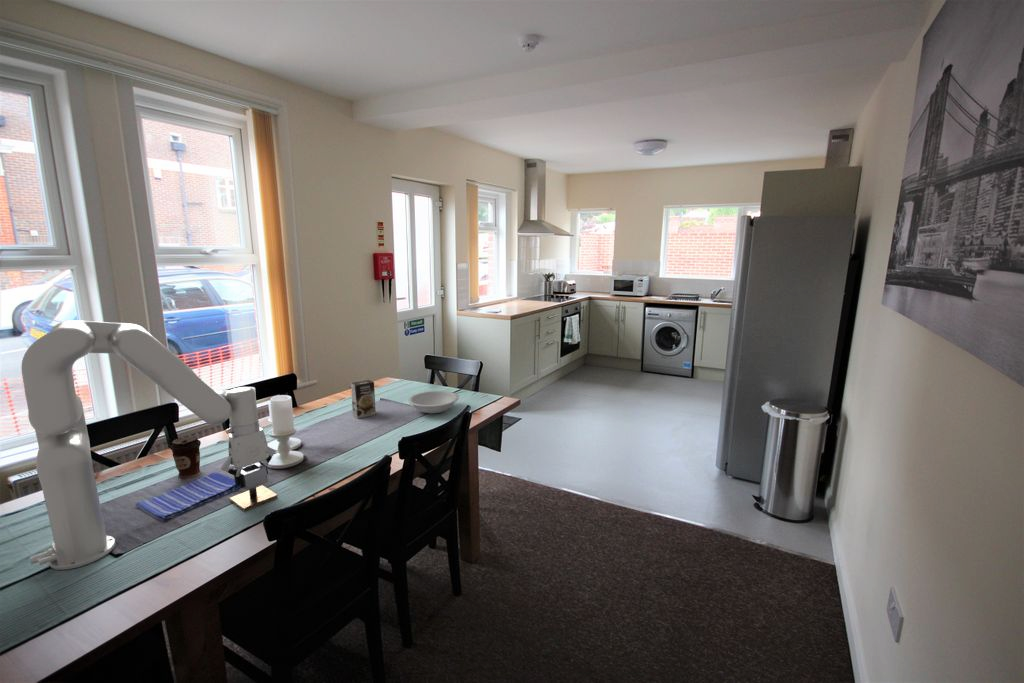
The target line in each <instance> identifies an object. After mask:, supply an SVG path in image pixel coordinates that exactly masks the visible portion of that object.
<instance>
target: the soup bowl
mask: <svg viewBox="0 0 1024 683" xmlns="http://www.w3.org/2000/svg"><path fill="white" fill-rule="evenodd" d="M459 399H460V398H459V394H457V393H455V392H453V391H448V390H447V391H446V390H427V391H422V392H418V393H414V394H412V395H411V396H409V397H408V398H407V401H408V403H409V404H411V405H412V406H413V407H414V408H415V410H417V411H419V412H422V413H425V414H438V413H443V412H446V411H448V410H450V408H451V407H453V405H454V404H455V403H456V402H457V401H458V400H459Z"/></svg>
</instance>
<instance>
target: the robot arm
mask: <svg viewBox="0 0 1024 683" xmlns="http://www.w3.org/2000/svg"><path fill="white" fill-rule="evenodd" d="M88 354H116V355H117V356H119V357H120V358H121V359H122V360H123V361H125V362H126V363H127V364H129V365H130V366H131V367H133V369H136V370H137V371H138V372H139V373H141V374H142V375H144V376H145V377H146V378H147V379H148V380H149V381H150V382H152V383H153V384H155V385H156V386H157V387H158V388H160V389H161V390H162V391H164V392H165V393H166V394H167V395H169V396H171V397H172V398H173V399H175V400H176V401H177V402H179V403H180V404H181V405H182V406H184V407H185V408H186V409H187V410H189V411H190V412H192V413H193V414H194V415H195V416H197V418H199V419H201V420H202V421H203V422H204V423H206V424H209V425H220V424H223V423H224V422H226V421H228V419H229V428H227V429H225V433H226V434H229V436H228V448H227V449H228V458H227V459H226V460H225V462H223V464H222V465H221V467H220V469H221V470H222V471H224V472H226V473H228V474H230V475H232V476H234V478H233V479H235V484H236V485H237V486H239V487H240V488H239V489H244V488H243V487H244V485H243V479H242V476H241V470H242V468H244V467H247V466H250V465H252V464H255V463H260V464H262V465H263V466H265V467H266V470H267V475H268V474H269V471H268V466H269V463H270V462H271V460H272V458H273V456H274V455H275V454H276V452H277V450H275V449H274V448H272V447H270V446H269V445H268V441H267V438H266V435H265V431H264V428H262V427H260V423H259V413H258V406H257V397H256V392H255V389H254V388H252V387H251V386H250V387H249V386H239V387H236V388H232V389H228V390H225V389H224V390H214V389H213V388H212V387H210V386H209V385H208V384H207V383H206V382H205V381H203V380H202V379H201V378H200V376H198V375H197V374H196V373H195V372H194V370H193V369H192V368H191V367H190V366H189V365H188V364H187V363H186V362H185V361H184V360H182V359H181V358H180V357H178V356H177V355H176V354H174V352H172V351H171V350H170V349H169V348H168V347H166V346H165V345H164V344H162V342H160V340H158V339H157V338H155V336H153V335H152V334H151V333H150V332H148V330H147V329H146V328H144V326H141V325H138V324H136V323H127V322H108V321H107V322H106V321H91V320H81V319H80V320H78V319H76V320H74V319H73V320H71V319H70V320H64V321H62V322H59V323H57V324H56V325H54V326H53V327H52V328H51V330H50V331H49V332H47V333H46V334H44V335H42V336H41V337H40V338H38V339H36V340H35V341H34V342H33V343H31V345H30V346H29V347H28V348H27V349H26V351H25V353H24V355H23V357H22V360H21V377H22V381H23V383H22V384H23V387H24V394H25V395H24V396H25V399H26V404H27V410H28V414H27V416H28V417H27V418H28V421H29V423H30V425H31V427H32V428H33V429H34V432H35V436H36V441H37V445H38V450H37V455H36V458H35V460H36V462H35V466H36V473H37V477H38V480H39V484H40V486H41V490H42V494H43V498H44V503H45V506H46V511H47V515H48V519H49V520H48V521H49V524H50V530H51V533H52V539H53V543H51V547H50V548H49V549H46V551H44V552H41V553H37V554H35V555H32V556H29V562H30V565H34V564H37V563H39V566H42V565H45V564H47V563H49V567H50V568H51V569H53V570H56V571H57V570H58V571H59V570H60V571H63V570H64V571H65V570H72V569H77V568H81V567H83V566H86V565H89V564H92V563H94V562H95V561H98V560H100V559H101V558H104V557H105V556H106V555H108V554H110V553H111V551H113V549H115V547H116V545H117V544H116V542H117V541H116V539H115V538H114V536H111V535H106V534H107V533H106V532H107V531H106V527H105V522H104V518H103V513H102V512H103V511H102V508H101V502H100V496H99V492H98V488H97V487H98V486H97V482H96V476H95V472H94V467H93V458H92V454H91V453H92V452H91V444H90V437H89V432H88V427H87V422H86V417H85V412H84V406H83V402H82V399H81V397H80V396H79V395H78V394H77V393H76V387H75V381H74V375H73V366H74V365H75V363H76V361H78V360H79V359H81V358H83V357H85V356H87V355H88ZM231 465H232V466H233V467H232V468H230V466H231Z"/></svg>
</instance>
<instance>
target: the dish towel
mask: <svg viewBox="0 0 1024 683" xmlns="http://www.w3.org/2000/svg"><path fill="white" fill-rule="evenodd" d="M239 489H241V488H240V487H239V486H237V485H236V484H235V478H231V477H229V476H226V475H225V474H223V473H219V472H217V471H216V472H215V471H213V472H211V473H209V474H207V475H204V476H203V477H201V478H197V479H196V480H194V481H191V482H189V483H186V484H184V485H181V486H177V487H176V488H173V489H171V490H168V491H166V492H163V493H161V494H159V495H156V496H153V497H151V498H148V499H145V500H142V501H140V502H137V503H135V506H136V507H137V508H138V509H140V510H142V511H143V512H145V513H147V515H150V516H152V517H154V518H155V519H157V520H160V521H163V522H164V521H165V520H169V519H172V518H174V517H176V516H179V515H182V514H184V513H185V512H188V511H190V510H193V509H195V508H197V507H198V508H199V507H200V506H202V505H205V504H207V503H209V502H211V501H214V500H216V499H218V498H221V497H223V496H226V495H228V494H230V493H232V492H235V491H237V490H239Z"/></svg>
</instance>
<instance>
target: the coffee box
mask: <svg viewBox="0 0 1024 683" xmlns="http://www.w3.org/2000/svg"><path fill="white" fill-rule="evenodd" d="M350 389H351V406H352V407H351V408H352V415H353V417H354V418H356V419H358V418H359V419H361V418H363V419H364V418H367V417H371V416H376V415H377V412H376V393H375V382H374V381H372V380H369V379H367V380H360V381H355V382H351V383H350ZM375 414H376V415H375Z"/></svg>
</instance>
